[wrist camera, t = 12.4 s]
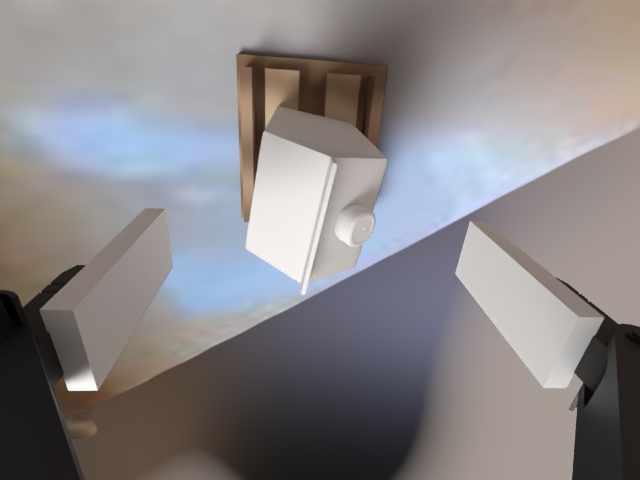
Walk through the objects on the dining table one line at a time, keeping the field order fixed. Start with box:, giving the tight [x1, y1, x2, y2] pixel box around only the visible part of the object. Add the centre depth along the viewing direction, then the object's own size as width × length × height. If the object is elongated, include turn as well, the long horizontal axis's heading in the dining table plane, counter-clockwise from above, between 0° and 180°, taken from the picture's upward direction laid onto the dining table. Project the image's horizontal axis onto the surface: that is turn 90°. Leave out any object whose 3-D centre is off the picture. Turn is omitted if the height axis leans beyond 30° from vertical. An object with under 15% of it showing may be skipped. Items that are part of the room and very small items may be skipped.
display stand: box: [236, 54, 388, 222], centre depth 34 cm, size 16×14×4 cm
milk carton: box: [246, 106, 388, 295], centre depth 25 cm, size 7×7×19 cm
